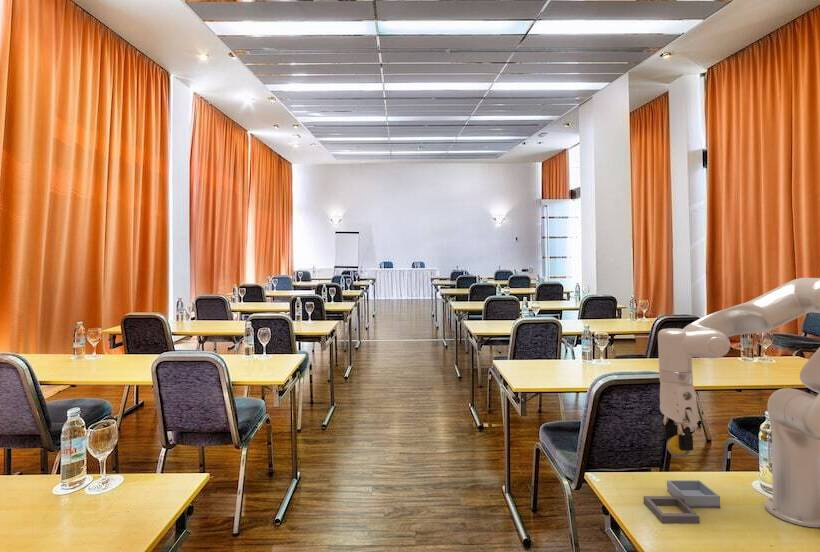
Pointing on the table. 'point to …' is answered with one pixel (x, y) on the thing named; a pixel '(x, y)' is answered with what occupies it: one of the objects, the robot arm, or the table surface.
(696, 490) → the parts tray
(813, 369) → the robot arm
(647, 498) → the holder panel
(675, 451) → the grooved yellow cone
